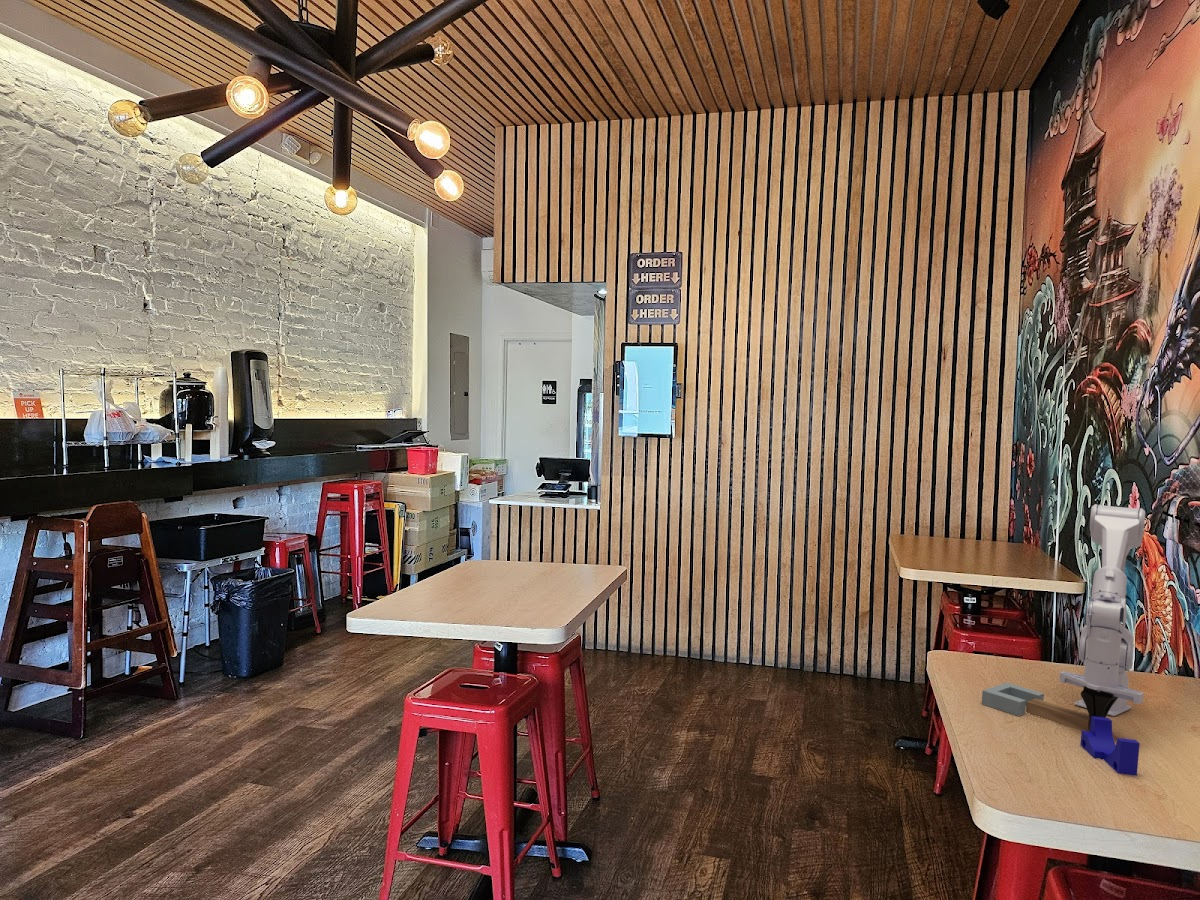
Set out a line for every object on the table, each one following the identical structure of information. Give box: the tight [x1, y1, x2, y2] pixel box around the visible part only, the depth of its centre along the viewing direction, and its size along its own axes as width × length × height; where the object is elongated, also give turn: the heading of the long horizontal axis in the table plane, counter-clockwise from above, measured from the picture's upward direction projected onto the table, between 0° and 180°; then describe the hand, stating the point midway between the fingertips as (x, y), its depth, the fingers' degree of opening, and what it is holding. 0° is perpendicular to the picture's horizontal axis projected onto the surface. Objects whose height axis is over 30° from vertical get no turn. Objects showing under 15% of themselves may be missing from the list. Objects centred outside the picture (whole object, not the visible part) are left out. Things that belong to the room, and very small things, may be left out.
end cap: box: [981, 682, 1045, 717], centre depth 175 cm, size 11×8×3 cm
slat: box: [1025, 698, 1091, 732], centre depth 167 cm, size 4×12×2 cm, turn 37°
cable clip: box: [1080, 716, 1140, 777], centre depth 148 cm, size 12×4×6 cm, turn 171°
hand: (1096, 727), depth 161 cm, fingers closed
